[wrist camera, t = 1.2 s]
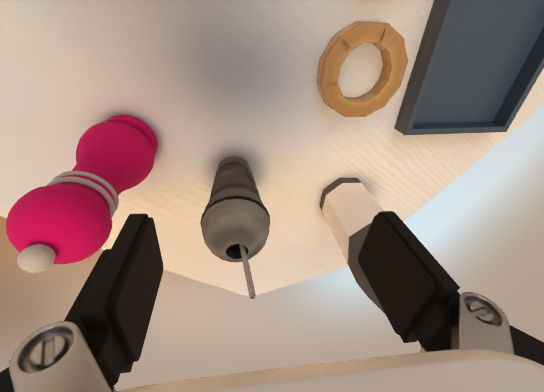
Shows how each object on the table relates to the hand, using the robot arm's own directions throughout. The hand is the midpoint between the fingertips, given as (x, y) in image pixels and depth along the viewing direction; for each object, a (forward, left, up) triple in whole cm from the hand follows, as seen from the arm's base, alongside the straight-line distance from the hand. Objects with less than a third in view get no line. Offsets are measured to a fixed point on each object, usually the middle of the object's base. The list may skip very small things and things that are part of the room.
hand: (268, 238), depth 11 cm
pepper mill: (-2, -15, -24) cm, 29 cm away
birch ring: (+4, +14, -24) cm, 28 cm away
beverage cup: (+8, -6, -24) cm, 26 cm away
